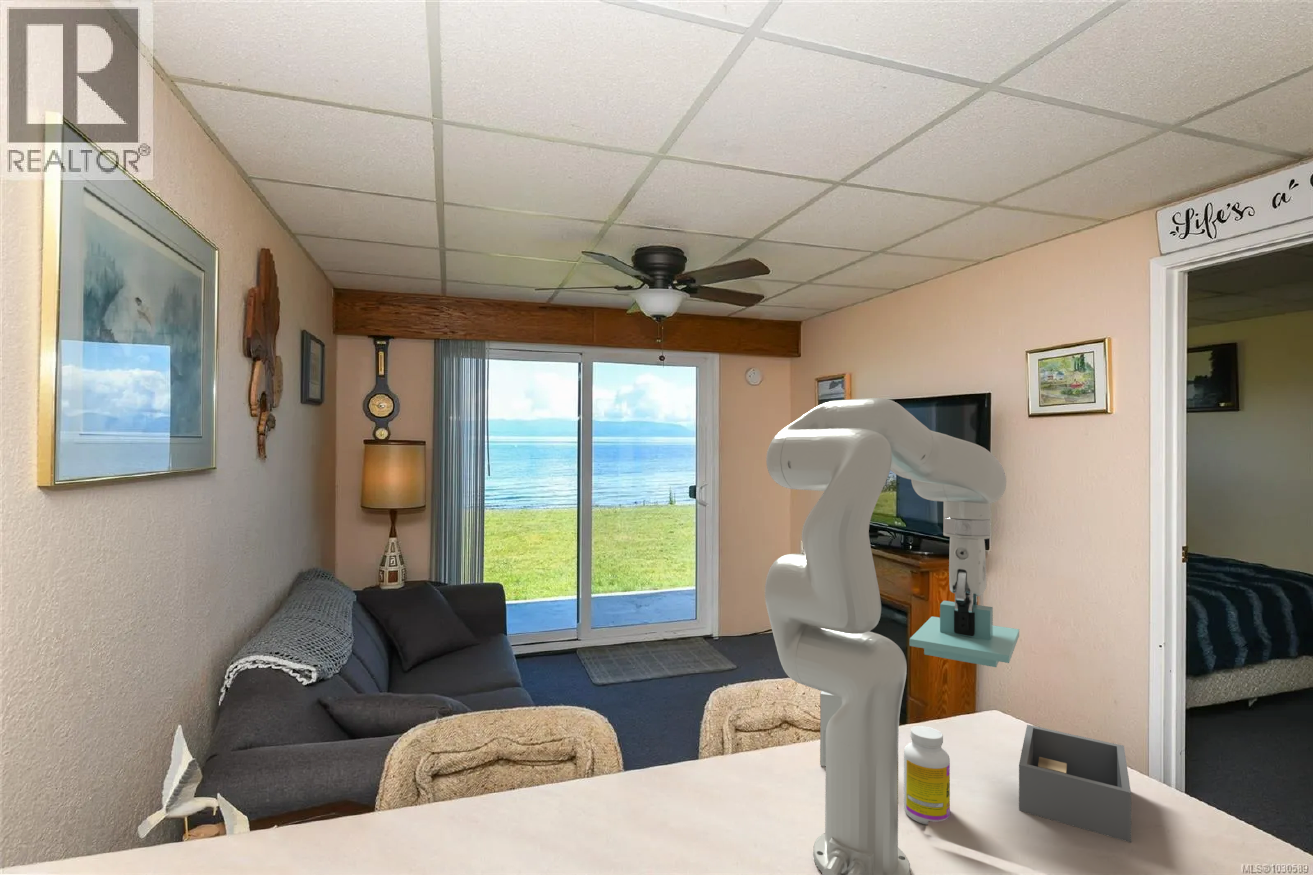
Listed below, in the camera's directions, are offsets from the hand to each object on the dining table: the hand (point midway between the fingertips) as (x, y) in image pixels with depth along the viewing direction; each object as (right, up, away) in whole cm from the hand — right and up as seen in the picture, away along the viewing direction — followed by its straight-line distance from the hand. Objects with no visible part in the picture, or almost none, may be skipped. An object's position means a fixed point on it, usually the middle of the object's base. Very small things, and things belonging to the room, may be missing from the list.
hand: (966, 630), depth 112 cm
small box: (-21, -25, +4) cm, 33 cm away
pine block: (+12, -24, -5) cm, 27 cm away
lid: (0, -3, 0) cm, 3 cm away
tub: (+12, -25, -10) cm, 30 cm away
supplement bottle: (-13, -25, -14) cm, 31 cm away
